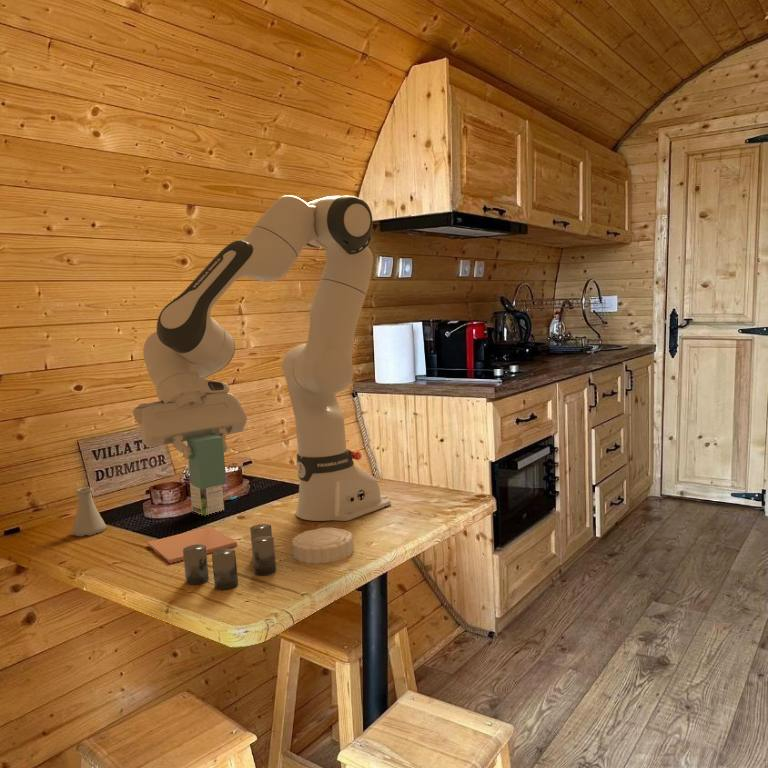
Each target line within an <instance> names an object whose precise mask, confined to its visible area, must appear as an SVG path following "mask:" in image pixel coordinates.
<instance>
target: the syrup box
mask: <svg viewBox="0 0 768 768" xmlns="http://www.w3.org/2000/svg"><path fill="white" fill-rule="evenodd" d="M187 465H188V476H189V486H190V487H189V489H190V500H191V509H192V508H193V511H194V512H196V513H198V514H197V515H200V514H201V515H200V516H203V515H204V517H207V516H206V515H208V516H210V515H209V514H211V515H213V514H212V513H214V514H216V513H215V512H217V513H219V511H220V512H223V511H225V503H224V502H225V501H223V493H224V491H223V485H219V486H214V487H209V488H205V489H200V488H198V487H195V486H193V485H191V476H190V466H189V459H187ZM222 510H223V511H222ZM196 513H195V514H196Z"/></svg>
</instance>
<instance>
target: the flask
mask: <svg viewBox="0 0 768 768" xmlns="http://www.w3.org/2000/svg"><path fill="white" fill-rule="evenodd" d="M92 491H93V487H90V486H89V487H82V488H78V489H77V490H76V491H75V493H76V494H77V495H78V505H77V510H76V515H75V519H74V523H73V526H72V528H71V529H72V530H71V533H70V535H71V536H75V535H76V536H75V537H85V536H84V535H88V536H94V535H97V534H99V533H102V532H104V531H105V530H106V529H107V528H106V527H108V526H107V525H106V523H105V521H104V519H103V518H102V516H101V514H100V513H99V510H98V508H97V507H96V505H95V502H94V498H93V495H92ZM105 528H106V529H105ZM96 533H97V534H96ZM93 534H94V535H93Z"/></svg>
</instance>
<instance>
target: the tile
mask: <svg viewBox="0 0 768 768" xmlns="http://www.w3.org/2000/svg"><path fill="white" fill-rule="evenodd" d="M197 544H202V545H205V546H206V553H207V555H208V554H212V553H213V552H214V551H216V550H220V549H227V548H229V549H231V548H235V547H237V546H238V542H237V541H236V540H234V539H233V538H231V537H230V536H227V535H226V534H225V533H222V532H221V531H220V530H217V529H216V528H214V527H212V526H207V527H204V528H202V527H201V528H199V529H196V530H191V531H186V532H183V533H179V534H174V535H170V536H167V537H162V538H159V539H155V540H150V541H147V542H146V545H149V546H150V547H151V548H152V549H154V550H155V551H156V552H157V553H158V554H160V555H161V556H162V557H163V558H164V559H166V560H167V561H168V562H169V563H171V564H174V563H173V562H175V563H178V562H177V561H179V562H182V561H184V556H183V549H184V548H185V547H187V546H191V545H197ZM151 548H150V549H151ZM152 549H151V550H152ZM156 552H155V553H156ZM157 553H156V554H157ZM158 554H157V555H158ZM161 556H160V557H161ZM162 557H161V558H162ZM163 558H162V559H163ZM164 559H163V560H164ZM166 560H165V561H166ZM181 560H182V561H181ZM167 561H166V562H167ZM168 562H167V563H168ZM169 563H168V564H169Z"/></svg>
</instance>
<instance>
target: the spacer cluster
mask: <svg viewBox="0 0 768 768" xmlns="http://www.w3.org/2000/svg"><path fill="white" fill-rule="evenodd" d="M249 529H250V530H249V531H250V541H251V551H252V552H251V554H252V563H253V564H252V565H253V573H254V575H256V576H259V577H262V576H270V575H272V574H274V573H276V572H277V565H276V564H277V562H276V551H275V538H274V537H273V532H272V525H271V524H269V523H260V524H254V525H252V526H250V528H249ZM207 555H208V554H207V553H206V546H205V545H202V544H197V545H191V546H187V547H185V548H184V549H183V556H184V560H183V563H184V565H183V566H184V575H185V583H186V585H191V586H196V585H201V584H204V583H207V582H208V581H209V579H210V576H209V564H208V556H207ZM236 557H237V556H236V550H235V549H234V548H227V549H220V550H216V551H214V552H212V553H211V560H212V561H211V563H212V572H213V580H214V581H213V583H214V588H215V589H216V590H217V591H227V590H232V589H234V588H236V587H237V586H238V585H239V578H238V569H237V558H236Z"/></svg>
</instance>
